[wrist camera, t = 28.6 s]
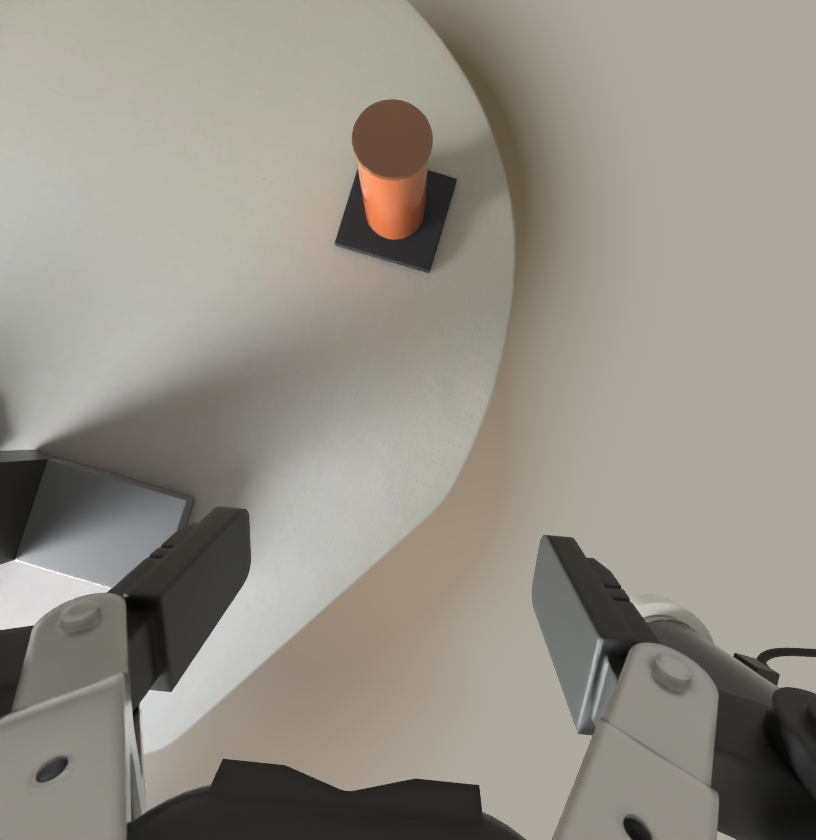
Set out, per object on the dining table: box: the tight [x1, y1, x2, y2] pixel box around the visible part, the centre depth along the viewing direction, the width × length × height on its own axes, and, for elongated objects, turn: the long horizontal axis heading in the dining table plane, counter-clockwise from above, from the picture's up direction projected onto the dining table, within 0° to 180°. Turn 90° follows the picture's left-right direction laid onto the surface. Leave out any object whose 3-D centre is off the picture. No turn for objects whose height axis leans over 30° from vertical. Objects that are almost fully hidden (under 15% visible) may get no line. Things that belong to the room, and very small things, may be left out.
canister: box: [352, 100, 433, 240], centre depth 36 cm, size 6×6×10 cm
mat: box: [335, 169, 457, 273], centre depth 41 cm, size 10×10×1 cm
